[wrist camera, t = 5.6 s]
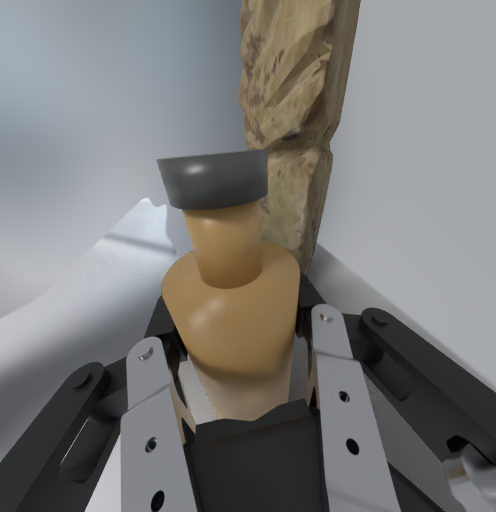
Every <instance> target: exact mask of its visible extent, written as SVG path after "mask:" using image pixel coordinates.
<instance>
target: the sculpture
mask: <svg viewBox="0 0 496 512" xmlns="http://www.w3.org/2000/svg"><path fill="white" fill-rule="evenodd" d="M360 1H361V0H243V1H242V9H241V14H240V28H241V38H242V45H241V48H240V53H241V60H242V63H243V65H244V68H243V72H242V77H241V82H240V87H239V89H240V90H239V104H240V106H241V107H242V108H243V112H244V113H243V115H244V129H245V135H246V145H247V149H248V150H257V149H267V161H268V194H267V195H266V196H265V197H263V198H261V199H259V207H260V229H261V240H263V241H267V242H271V243H274V244H276V245H279V246H281V247H283V248H284V249H286V250H287V251H288V252H290V253H291V254H292V255H293V256H294V258H295V259H296V261H297V262H298V265H299V267H300V272H302V273H303V274H305V275H306V273H307V271H308V268H309V265H310V262H311V259H312V256H313V253H314V249H315V245H316V241H317V236H318V232H319V227H320V223H321V218H322V214H323V209H324V205H325V200H326V195H327V189H328V184H329V179H330V174H331V169H332V162H333V154H332V153H331V151H330V140H331V139H332V137H333V135H334V133H335V131H336V129H337V127H338V125H339V123H340V118H341V112H342V106H343V101H344V96H345V90H346V84H347V79H348V73H349V68H350V61H351V56H352V50H353V44H354V39H355V33H356V28H357V22H358V15H359V8H360Z"/></svg>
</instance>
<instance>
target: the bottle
mask: <svg viewBox="0 0 496 512" xmlns="http://www.w3.org/2000/svg"><path fill="white" fill-rule="evenodd" d="M157 163H158V166H159V169H160V173H161V176H162V179H163V182H164V185H165V189H166V192H167V195H168V198H169V202H170V205H171V206H173V207H175V208H179V209H182V210H183V214H184V217H185V221H186V225H187V228H188V232H189V235H190V239H191V243H192V246H193V251H191V252H189V253H188V254H186V255H184V256H183V257H182V258H180V259H179V260H178V261H177V262H175V263H174V264H173V265H172V266H171V268H170V269H169V270H168V272H167V273H166V275H165V277H164V279H163V282H162V290H161V291H162V297H163V299H164V301H165V304H166V306H167V308H168V310H169V312H170V314H171V317H172V319H173V321H174V323H175V325H176V328H177V330H178V332H179V334H180V336H181V339H182V341H183V343H184V345H185V347H186V350H187V352H188V354H189V356H190V358H191V361H192V363H193V365H194V367H195V369H196V371H197V374H198V376H199V378H200V380H201V382H202V385H203V387H204V389H205V391H206V393H207V396H208V398H209V400H210V402H211V404H212V407H213V409H214V411H215V413H216V415H217V418H218V420H219V419H223V418H226V419H236V420H246V421H254V420H256V419H258V418H259V417H261V416H263V415H264V414H266V413H267V412H269V411H270V410H272V409H273V408H275V407H277V406H278V405H280V404H284V403H288V399H289V388H290V378H291V367H292V356H293V346H294V335H295V324H296V314H297V303H298V292H299V282H300V267H299V265H298V262H297V261H296V259H295V258H294V256H293V255H292V254H291V253H290V252H288V251H287V250H286V249H284V248H283V247H281V246H279V245H276V244H274V243H271V242H267V241H263V240H261V229H260V207H259V199H261V198H263V197H265V196H266V195H267V194H268V161H267V149H257V150H246V151H234V152H223V153H212V154H203V155H191V156H183V157H173V158H165V159H157Z"/></svg>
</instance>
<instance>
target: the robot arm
mask: <svg viewBox="0 0 496 512" xmlns="http://www.w3.org/2000/svg"><path fill="white" fill-rule="evenodd" d="M295 332H296V335H297V337H298V338H300V337H305V339H306V342H307V344H306V359H307V395H306V400H305V399H301V400H297V401H292V402H288V403H284V404H280V405H278V406H277V407H275V408H273V409H272V410H270V411H269V412H267V413H266V414H264V415H263V416H261V417H259V418H258V419H256V420H254V421H246V420H236V419H226V418H223V419H219V420H215V421H211V422H207V423H203V424H199V425H196V424H195V421H194V419H193V416H192V414H191V411H190V408H189V405H188V401H187V398H186V394H185V391H184V387H183V384H182V380H181V377H180V374H179V371H178V370H179V364H180V362H183V361H187V356H188V352H187V350H186V347H185V345H184V343H183V341H182V339H181V336H180V334H179V332H178V330H177V328H176V325H175V323H174V321H173V319H172V317H171V314H170V312H169V310H168V308H167V306H166V304H165V301H164V299H163V297H162V296H161V297H160V298H159V299H158V301H157V304H156V308H155V309H154V312H153V315H152V317H151V320H150V323H149V326H148V328H147V331H146V334H145V336H144V339H143V340H141V341H139V342H138V343H137V344H136V345H134V346H133V347H132V349H131V350H130V351H129V353H128V355H127V357H125V358H123V359H121V360H119V361H117V362H114V363H112V364H110V365H108V366H106V367H104V366H103V365H102V364H101V363H99V362H92V363H89V364H86V365H84V366H82V367H81V368H79V369H78V370H76V371H75V372H74V373H73V374H71V375H70V376H69V377H68V378H67V379H66V381H65V382H64V383H63V384H62V386H61V387H60V388H59V389H58V391H57V392H56V393H55V394H54V396H53V397H52V398H51V399H50V401H49V402H48V403H47V405H46V406H45V407H44V408H43V410H42V411H41V412H40V413H39V415H38V416H37V417H36V418H35V420H34V421H33V422H32V423H31V425H30V426H29V427H28V429H27V430H26V431H25V432H24V434H23V435H22V436H21V437H20V439H19V440H18V441H17V442H16V444H15V445H14V446H13V447H12V449H11V450H10V451H9V453H8V454H7V455H6V456H5V458H4V459H3V460H2V461H1V463H0V512H85V509H86V507H87V505H88V503H89V501H90V498H91V496H92V494H93V492H94V490H95V487H96V485H97V483H98V481H99V479H100V476H101V474H102V472H103V470H104V468H105V465H106V463H107V461H108V459H109V457H110V454H111V452H112V450H113V448H114V446H115V443H116V441H117V439H118V437H119V435H120V432H121V512H445V511H444V510H443V509H442V508H440V507H439V506H438V505H437V504H436V503H435V502H434V501H432V500H431V499H430V498H429V497H428V496H427V495H425V494H424V493H423V492H422V491H421V490H420V489H419V488H417V487H416V486H415V485H414V484H413V483H412V482H411V481H409V480H408V479H407V478H406V477H405V476H404V475H403V474H401V473H400V472H399V471H398V470H397V469H396V468H394V467H393V466H392V465H391V464H390V463H389V462H388V461H387V460H386V456H385V452H384V449H383V445H382V441H381V438H380V434H379V430H378V426H377V423H376V419H375V415H374V412H373V408H372V404H371V400H370V397H369V393H368V389H367V385H366V382H365V378H364V374H363V372H364V373H365V374H366V375H367V376H368V377H369V379H370V380H371V381H372V382H373V383H374V384H375V386H376V387H377V388H378V389H379V390H380V391H381V393H382V394H383V395H384V396H385V397H386V398H387V400H388V401H389V402H390V403H391V404H392V405H393V406H394V408H395V409H396V410H397V411H398V412H399V413H400V415H401V416H402V417H403V418H404V419H405V420H406V422H407V423H408V424H409V425H410V426H411V427H412V428H413V430H414V431H415V432H416V433H417V434H418V435H419V437H420V438H421V439H422V440H423V441H424V442H425V444H426V445H427V446H428V447H429V448H430V449H431V451H432V452H433V453H434V454H435V455H436V456H437V457H438V459H439V460H440V461H441V462H442V463H443V469H444V473H445V476H446V479H447V481H448V485H449V489H450V491H451V493H452V495H453V496H454V498H455V499H456V500H457V501H458V502H459V503H460V504H461V505H462V506H463V507H464V508H465V510H466V511H467V512H496V393H495V392H494V391H493V390H491V389H490V388H489V387H487V386H486V385H485V384H483V383H482V382H481V381H479V380H478V379H477V378H475V377H474V376H473V375H471V374H470V373H469V372H467V371H466V370H465V369H463V368H462V367H461V366H459V365H458V364H456V363H455V362H454V361H452V360H451V359H450V358H448V357H447V356H446V355H444V354H443V353H442V352H440V351H439V350H438V349H436V348H435V347H434V346H432V345H431V344H430V343H428V342H427V341H426V340H424V339H423V338H422V337H420V336H419V335H418V334H416V333H415V332H414V331H412V330H411V329H410V328H408V327H407V326H406V325H404V324H403V323H402V322H400V321H399V320H397V319H396V318H395V317H393V316H392V315H391V314H389V313H388V312H386V311H384V310H381V309H377V308H367V309H365V310H363V312H362V314H361V315H352V314H343V313H341V312H340V311H339V310H338V309H336V308H335V307H333V306H331V305H327V304H326V303H325V301H324V300H323V299H322V297H321V296H320V295H319V293H318V292H317V290H316V289H315V288H314V286H312V284H311V282H310V281H309V280H308V278H307V277H306V275H305V274H303V273H302V272H300V282H299V292H298V303H297V314H296V324H295ZM401 367H402V368H403V369H404V370H405V371H404V370H403V369H402V368H401ZM87 419H88V420H87ZM86 420H87V422H86ZM85 422H86V423H85ZM84 423H85V425H84ZM83 425H84V427H83ZM82 427H83V428H82ZM81 428H82V430H81ZM80 430H81V432H80ZM79 432H80V433H79ZM78 433H79V435H78ZM77 435H78V437H77ZM76 437H77V438H76ZM75 438H76V440H75ZM74 440H75V442H74ZM73 442H74V443H73ZM72 443H73V445H72ZM71 445H72V447H71ZM70 447H71V449H70V450H69V448H70ZM68 450H69V452H68ZM67 452H68V454H67V455H66V453H67ZM65 455H66V457H65ZM64 457H65V459H64V460H63V458H64ZM62 460H63V462H62ZM61 462H62V464H61Z"/></svg>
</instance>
